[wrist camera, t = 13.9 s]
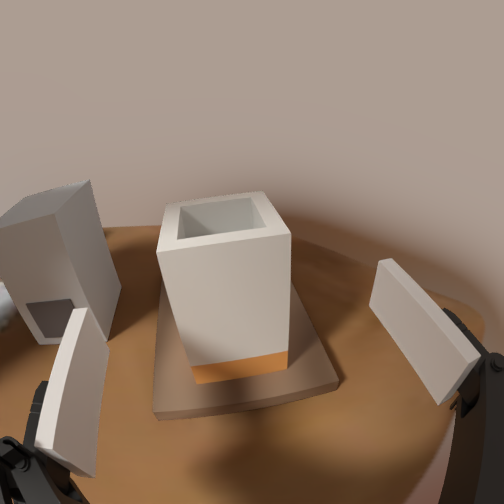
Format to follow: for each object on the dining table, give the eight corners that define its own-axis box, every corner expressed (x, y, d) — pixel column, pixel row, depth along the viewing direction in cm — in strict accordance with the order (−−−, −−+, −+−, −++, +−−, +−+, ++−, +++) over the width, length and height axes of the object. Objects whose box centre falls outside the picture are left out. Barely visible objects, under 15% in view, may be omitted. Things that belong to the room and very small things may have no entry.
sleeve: (196, 384, 17) (156, 252, 12) (193, 322, 22) (166, 203, 17) (287, 369, 18) (291, 233, 13) (267, 311, 23) (262, 190, 18)
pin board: (158, 420, 16) (129, 376, 13) (166, 270, 31) (156, 228, 29) (336, 389, 18) (350, 340, 15) (273, 255, 33) (272, 212, 30)
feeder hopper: (38, 345, 21) (-19, 234, 15) (61, 294, 28) (24, 197, 22) (107, 342, 22) (53, 214, 16) (121, 286, 29) (89, 179, 23)
